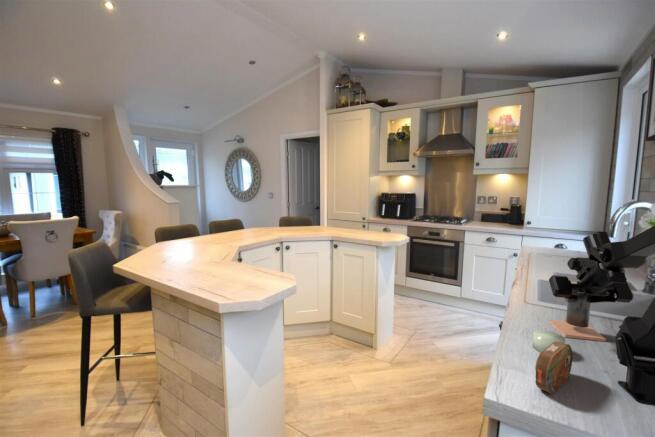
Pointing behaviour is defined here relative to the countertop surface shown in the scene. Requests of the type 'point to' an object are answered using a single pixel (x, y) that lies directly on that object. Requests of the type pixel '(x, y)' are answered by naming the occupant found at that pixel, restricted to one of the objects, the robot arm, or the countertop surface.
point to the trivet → (577, 331)
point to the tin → (553, 366)
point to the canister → (579, 310)
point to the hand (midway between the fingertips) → (576, 300)
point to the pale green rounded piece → (545, 339)
